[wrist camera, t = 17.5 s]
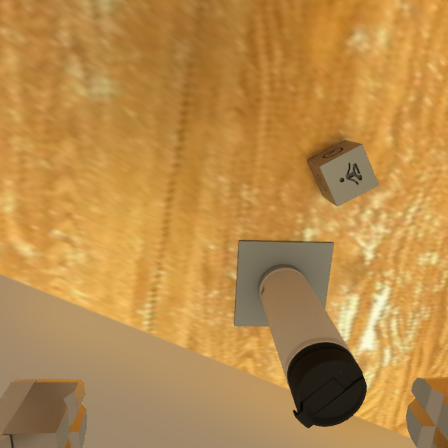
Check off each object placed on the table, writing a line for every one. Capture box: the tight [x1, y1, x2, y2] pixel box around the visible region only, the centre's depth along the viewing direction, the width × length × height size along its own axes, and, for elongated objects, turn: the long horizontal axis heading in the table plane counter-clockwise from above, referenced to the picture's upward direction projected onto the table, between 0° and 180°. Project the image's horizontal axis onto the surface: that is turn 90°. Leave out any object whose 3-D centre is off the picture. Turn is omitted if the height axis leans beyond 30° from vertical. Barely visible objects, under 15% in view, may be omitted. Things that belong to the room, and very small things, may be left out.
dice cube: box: [307, 140, 379, 207], centre depth 43 cm, size 5×5×5 cm
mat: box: [234, 240, 334, 326], centre depth 50 cm, size 12×12×1 cm
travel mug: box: [258, 265, 367, 428], centre depth 40 cm, size 6×7×20 cm
